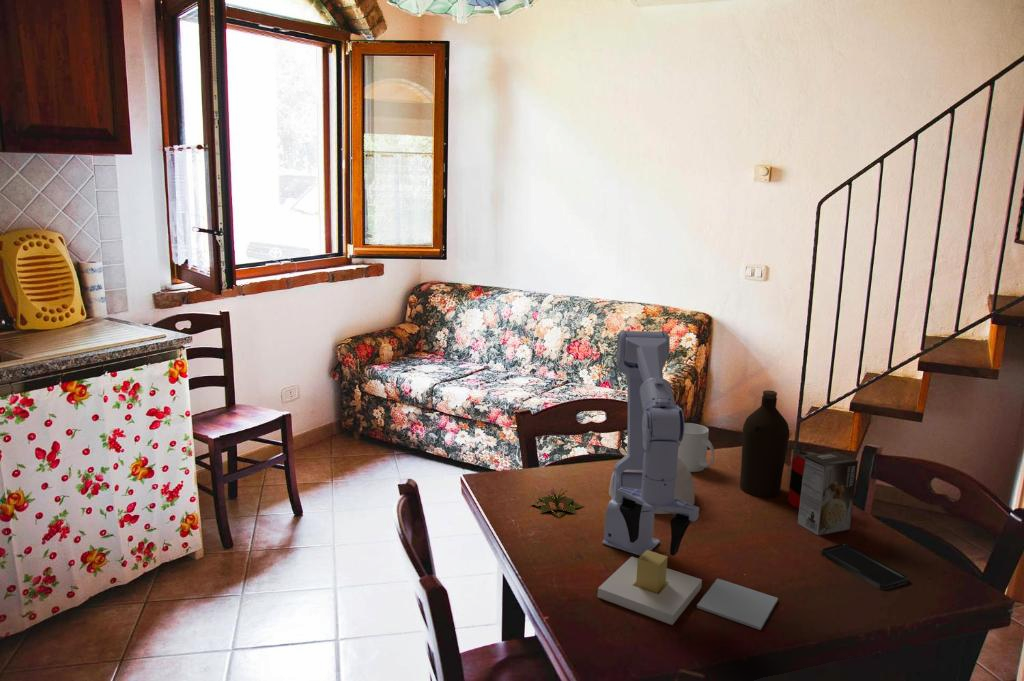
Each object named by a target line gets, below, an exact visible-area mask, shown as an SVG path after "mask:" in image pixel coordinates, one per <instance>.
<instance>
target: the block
mask: <svg viewBox="0 0 1024 681" xmlns="http://www.w3.org/2000/svg"><path fill="white" fill-rule="evenodd" d="M668 558H669V556H667V555H665V554H661V553H658V552H656V551H653V550H651V551H649V550H646V551H645V552H644V553H643V554H642V555H641V556H639V557H638V564H637V578H636V587H639V588H641V589H644V590H647V591H650V592H653V593H655V594H659V593H660V592H661V591H662V590H663V589H664V588H665V584H666V572H667V568H668Z"/></svg>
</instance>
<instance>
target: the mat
mask: <svg viewBox="0 0 1024 681" xmlns="http://www.w3.org/2000/svg"><path fill="white" fill-rule="evenodd" d="M699 600H700V601H699V602H698V603H697V604H696V608H697V609H700V610H702V611H705V612H708V613H711V614H714V615H717V616H719V617H722V618H724V619H728V620H730V621H733V622H736V623H739V624H742V625H744V626H748V627H750V628H753V629H756V630H759V631H761V630H762V629H763V627H764V625H765V624H766V621H767V620H768V619H769V617H770V615H771V613H772V612H773V610H774V608H775V606H776V604H777V602H778V601H779V598H778V597H777V596H772V595H770V594H768V593H763V592H760V591H757V590H754V589H751V588H749V587H745V586H742V585H739V584H736V583H733V582H730V581H727V580H724V579H722V578H719V577H718V578H716V580H715V581H714V582H713V583H712V584H711V587H710V588H709V589H708V590H707V591H706V592H705V593H704V595H703V596H702V598H701V599H699Z"/></svg>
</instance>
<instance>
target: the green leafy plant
mask: <svg viewBox="0 0 1024 681" xmlns="http://www.w3.org/2000/svg"><path fill="white" fill-rule="evenodd" d="M562 490H563V488H561V489H560V491H559V493H558V498H557V497H556V495H557V493H556V491H555V489H554V488H552V489H551V490H550V494H551V495H550V494H547V496H544V497H541V498H542V499H539V500H540V501H536V502H534V503H537V504H538V503H539V502H543V503H545V504H547V505H542V507H539V506H536V507H538V508H540V513H541V514H543V513H546V512H550V513H551V514H553V515H554V516H556V517H557V518H558V519H560V518H561V517H562V516H563V515H565V514H566V512H569V513H571V514H574V515H577V512H576V509H579V508H584V507H585V506H584V505H581V504H579V503H577V502H574V501H573V500H574V498H571V497H567V496H566V495H565V494H566V492H568V490H565V491H563V492H562V493H561V491H562ZM553 495H554V497H555V499H554V497H553ZM563 495H564V496H563ZM552 497H553V498H552ZM543 499H544V500H543ZM549 502H553V503H555V504H554V505H555V507H556V506H558V507H559V505H560V504H559V503H563V504H564V505H563V506H564V507H563V509H562V508H555V509H552V508H553V507H552V508H551V507H550V505H549ZM569 504H571V505H572V506H570V505H569ZM574 506H575V507H574ZM550 510H554V511H558V510H559V511H562V510H564V511H562V513H560V512H559V513H560V514H559V513H558V512H556V513H554V512H552V511H550ZM557 513H558V514H559V516H558V515H557Z"/></svg>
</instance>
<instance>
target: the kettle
mask: <svg viewBox="0 0 1024 681" xmlns="http://www.w3.org/2000/svg"><path fill="white" fill-rule="evenodd" d="M678 443H679V444H678V447H679V446H680V442H679V441H678ZM627 455H628V453H627V454H626V455H625V456H624V457H626V456H627ZM624 457H622V458H621V459H623V458H624ZM624 472H642V473H643V470H630V469H628V470H625V471H624ZM613 475H614V470H613V471H612V474H611V476H610V477H611V478H610V482H609V489H608V494H609V496H610V498H611V499H612V498H613V490H612V484H613ZM674 497H675V498H677V499H680V500H682V501H684V502H686V503H688V504H690V505H693V506H694V505H695V502H696V498H695V482H694V479H693V476H692V472H690V471H689V469H688V468H687V466H686V465H685V464H684V462H683V461H682V460H681V459H679V458H678V457H677V469H676V481H675V493H674ZM671 514H672V513H668V512H665V511H661V510H656V509H655V515H671ZM672 515H673V514H672Z"/></svg>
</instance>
